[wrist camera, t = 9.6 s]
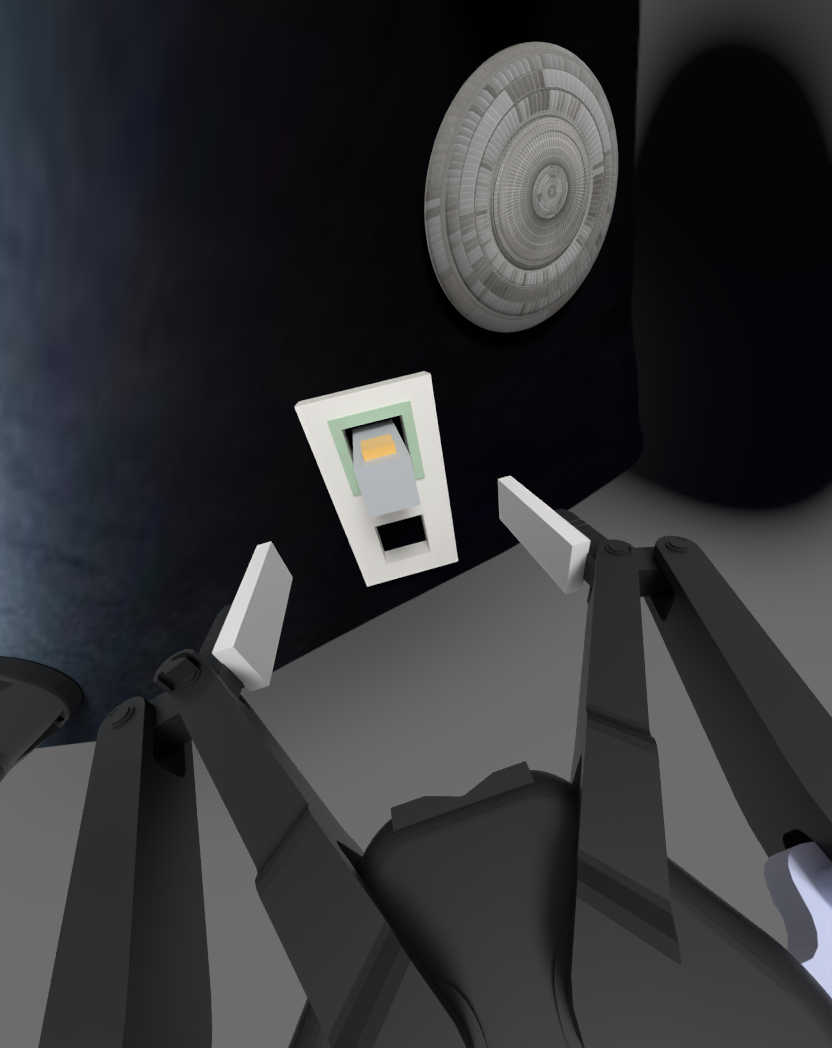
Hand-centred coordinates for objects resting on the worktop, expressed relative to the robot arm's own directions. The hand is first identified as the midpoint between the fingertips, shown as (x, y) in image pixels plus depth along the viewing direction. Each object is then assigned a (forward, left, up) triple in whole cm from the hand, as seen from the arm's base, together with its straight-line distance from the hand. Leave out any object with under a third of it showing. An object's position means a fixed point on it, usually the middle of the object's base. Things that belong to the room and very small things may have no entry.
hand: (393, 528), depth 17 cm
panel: (0, -5, -16) cm, 17 cm away
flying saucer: (+15, +15, -17) cm, 27 cm away
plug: (0, 0, -16) cm, 16 cm away
